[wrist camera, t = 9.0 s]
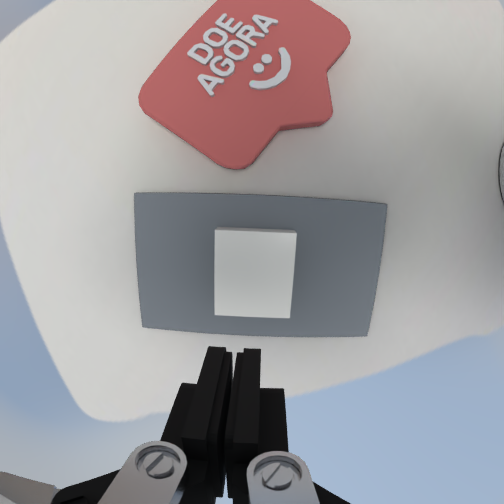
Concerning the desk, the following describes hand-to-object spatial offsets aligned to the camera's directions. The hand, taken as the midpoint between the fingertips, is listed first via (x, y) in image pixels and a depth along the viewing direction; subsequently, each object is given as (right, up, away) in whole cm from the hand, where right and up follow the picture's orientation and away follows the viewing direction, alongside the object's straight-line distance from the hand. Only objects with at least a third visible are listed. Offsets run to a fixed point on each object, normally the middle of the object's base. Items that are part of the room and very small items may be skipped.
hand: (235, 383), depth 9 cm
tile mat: (+1, +3, +20) cm, 20 cm away
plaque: (+1, +21, +16) cm, 26 cm away
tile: (+4, +2, +18) cm, 19 cm away
